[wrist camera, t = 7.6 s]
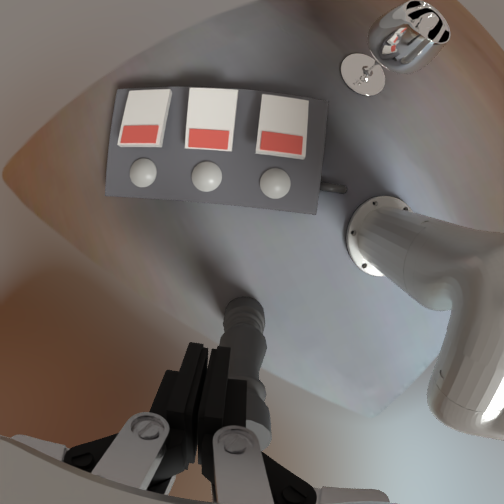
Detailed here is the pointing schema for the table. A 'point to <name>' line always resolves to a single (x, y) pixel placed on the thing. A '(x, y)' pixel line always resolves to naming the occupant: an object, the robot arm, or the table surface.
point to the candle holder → (248, 360)
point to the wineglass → (397, 46)
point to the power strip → (220, 161)
